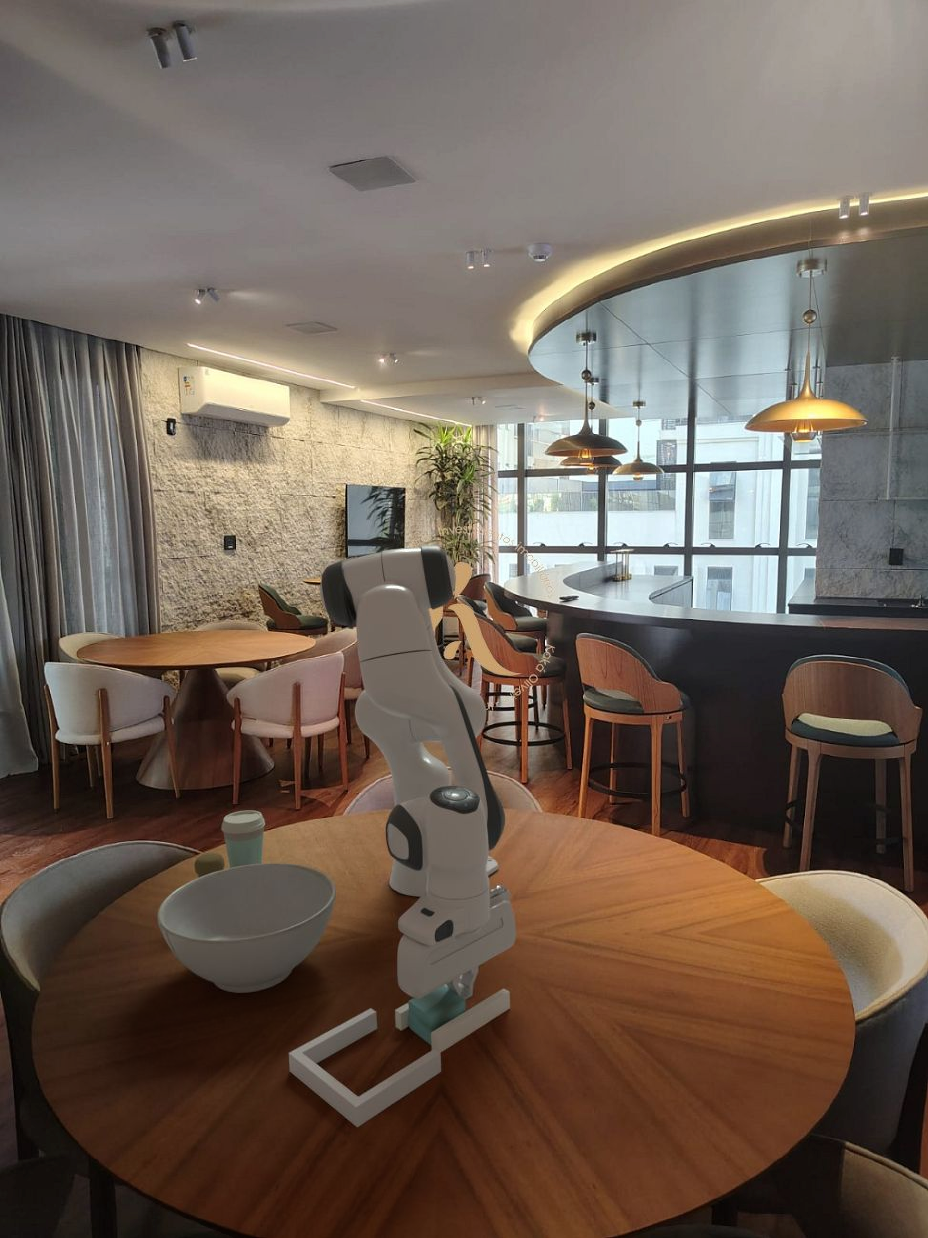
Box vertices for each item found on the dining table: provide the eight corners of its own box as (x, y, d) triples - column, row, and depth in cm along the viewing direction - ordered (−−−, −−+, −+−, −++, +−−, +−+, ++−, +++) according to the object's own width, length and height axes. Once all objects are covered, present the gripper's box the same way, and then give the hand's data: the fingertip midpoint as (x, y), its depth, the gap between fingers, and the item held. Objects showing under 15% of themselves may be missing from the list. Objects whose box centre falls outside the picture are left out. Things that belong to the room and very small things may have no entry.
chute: (467, 985, 122) (467, 969, 122) (510, 1008, 116) (509, 991, 115) (395, 1027, 112) (394, 1010, 112) (437, 1054, 106) (437, 1036, 106)
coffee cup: (276, 867, 167) (272, 811, 166) (252, 885, 159) (248, 826, 158) (240, 863, 170) (237, 807, 168) (215, 880, 162) (211, 822, 160)
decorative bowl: (123, 1002, 120) (116, 924, 119) (236, 919, 145) (232, 854, 144) (275, 1039, 110) (270, 954, 109) (369, 943, 135) (366, 874, 134)
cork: (235, 906, 150) (231, 849, 149) (222, 922, 144) (218, 862, 143) (203, 905, 151) (199, 848, 150) (189, 921, 145) (185, 862, 144)
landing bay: (371, 1025, 113) (370, 1008, 112) (441, 1071, 103) (440, 1053, 102) (289, 1071, 104) (288, 1053, 103) (357, 1127, 93) (356, 1107, 93)
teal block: (443, 1011, 116) (442, 984, 115) (466, 1027, 112) (465, 999, 111) (409, 1028, 112) (408, 1001, 111) (431, 1045, 108) (430, 1017, 107)
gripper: (492, 875, 123) (495, 962, 124) (388, 924, 108) (392, 1021, 110) (524, 887, 118) (526, 977, 120) (419, 940, 104) (423, 1041, 105)
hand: (461, 999), depth 115 cm, fingers closed
